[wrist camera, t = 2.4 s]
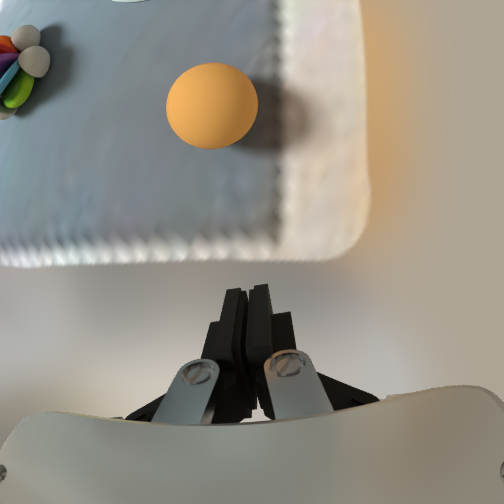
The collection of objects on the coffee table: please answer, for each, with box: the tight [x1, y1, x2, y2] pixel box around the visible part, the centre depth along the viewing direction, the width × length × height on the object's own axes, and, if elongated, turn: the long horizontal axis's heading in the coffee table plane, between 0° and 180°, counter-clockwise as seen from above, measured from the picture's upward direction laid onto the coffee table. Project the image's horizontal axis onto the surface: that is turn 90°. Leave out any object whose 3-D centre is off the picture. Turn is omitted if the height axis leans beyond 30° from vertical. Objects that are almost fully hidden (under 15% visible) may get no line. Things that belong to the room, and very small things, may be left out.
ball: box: [166, 63, 258, 149], centre depth 17 cm, size 6×6×6 cm
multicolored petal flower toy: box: [0, 25, 50, 120], centre depth 14 cm, size 8×10×7 cm
